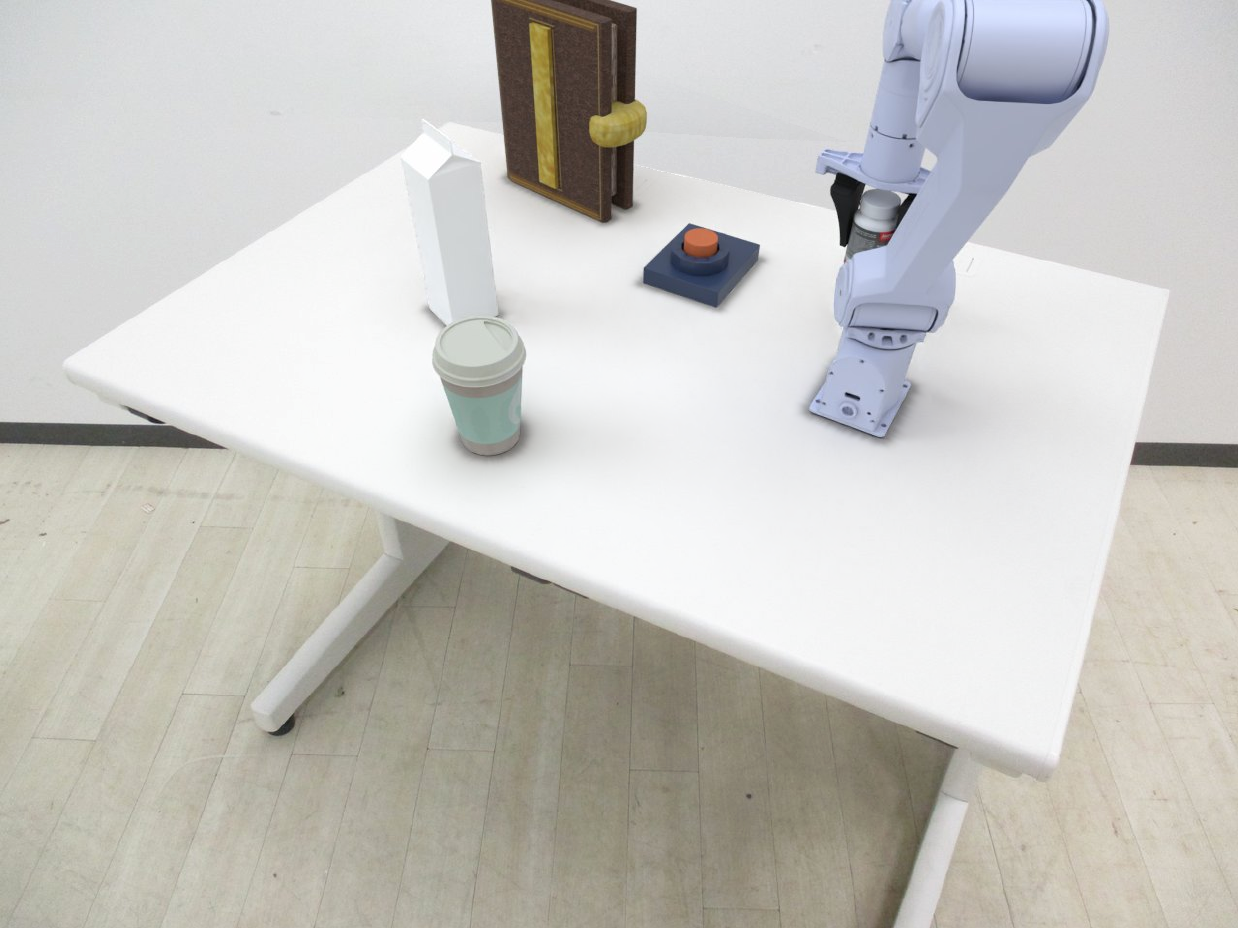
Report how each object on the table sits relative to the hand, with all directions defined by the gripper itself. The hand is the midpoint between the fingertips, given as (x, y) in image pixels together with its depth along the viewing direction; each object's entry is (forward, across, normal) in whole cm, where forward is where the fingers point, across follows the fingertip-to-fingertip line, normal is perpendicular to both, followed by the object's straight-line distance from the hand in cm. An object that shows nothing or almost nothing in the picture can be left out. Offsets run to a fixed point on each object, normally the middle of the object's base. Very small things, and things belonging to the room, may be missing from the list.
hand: (869, 249), depth 92 cm
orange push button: (+6, +19, +1) cm, 20 cm away
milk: (+10, +39, +23) cm, 46 cm away
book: (+10, +44, -7) cm, 45 cm away
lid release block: (+9, +20, 0) cm, 22 cm away
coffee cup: (+10, +24, +37) cm, 45 cm away
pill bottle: (+3, 0, 0) cm, 3 cm away
